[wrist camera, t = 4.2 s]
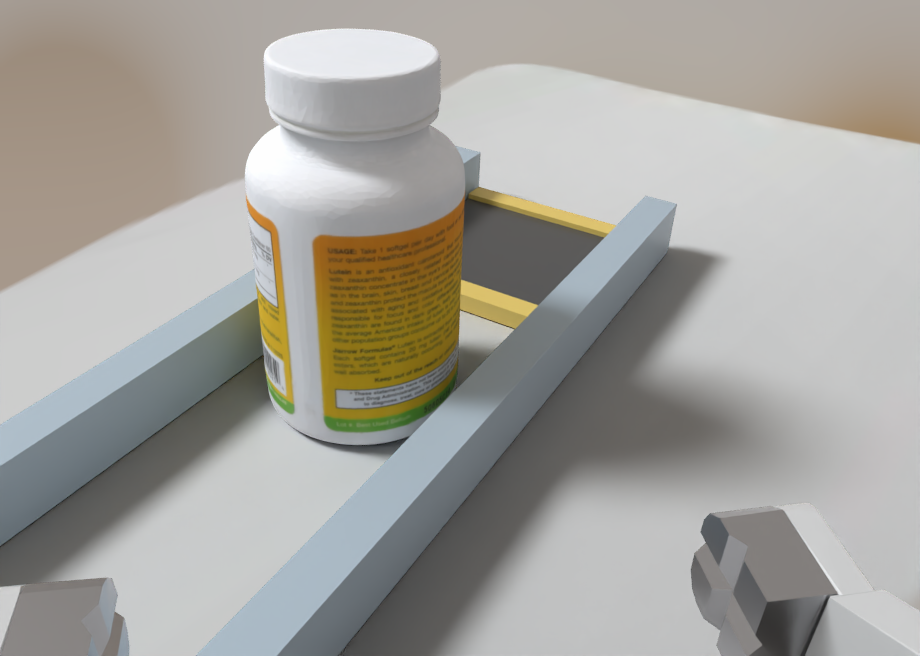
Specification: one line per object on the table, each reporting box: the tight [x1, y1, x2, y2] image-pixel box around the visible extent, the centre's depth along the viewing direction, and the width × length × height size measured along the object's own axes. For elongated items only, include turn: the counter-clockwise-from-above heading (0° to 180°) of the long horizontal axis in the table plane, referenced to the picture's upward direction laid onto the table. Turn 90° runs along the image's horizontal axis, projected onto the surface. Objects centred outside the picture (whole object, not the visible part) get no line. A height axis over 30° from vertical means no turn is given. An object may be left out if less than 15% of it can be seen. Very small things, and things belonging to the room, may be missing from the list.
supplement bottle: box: [245, 29, 465, 445], centre depth 22 cm, size 5×5×10 cm
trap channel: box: [0, 146, 677, 656], centre depth 25 cm, size 24×9×2 cm, turn 150°
